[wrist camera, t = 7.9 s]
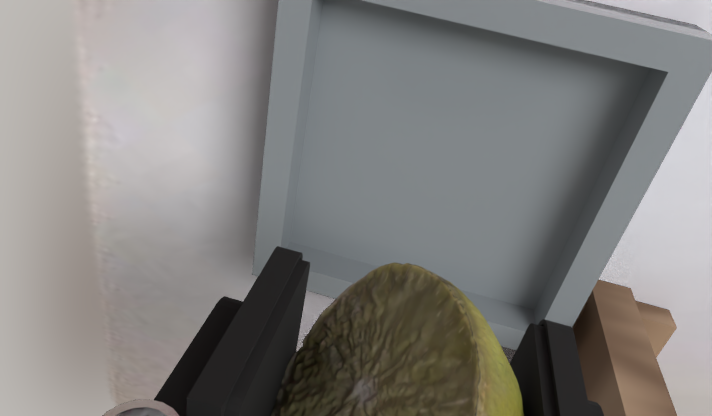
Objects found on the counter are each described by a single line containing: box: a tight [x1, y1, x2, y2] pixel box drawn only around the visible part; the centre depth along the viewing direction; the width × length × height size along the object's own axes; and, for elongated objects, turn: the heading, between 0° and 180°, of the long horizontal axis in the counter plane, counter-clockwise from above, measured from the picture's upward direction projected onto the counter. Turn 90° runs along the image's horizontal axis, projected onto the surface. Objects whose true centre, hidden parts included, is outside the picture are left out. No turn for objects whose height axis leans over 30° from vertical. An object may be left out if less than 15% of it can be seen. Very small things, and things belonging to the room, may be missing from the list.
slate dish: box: [252, 0, 712, 350], centre depth 18 cm, size 12×12×2 cm
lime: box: [271, 262, 524, 416], centre depth 9 cm, size 4×5×5 cm
